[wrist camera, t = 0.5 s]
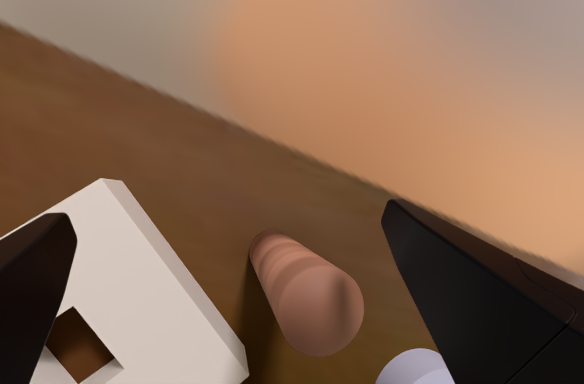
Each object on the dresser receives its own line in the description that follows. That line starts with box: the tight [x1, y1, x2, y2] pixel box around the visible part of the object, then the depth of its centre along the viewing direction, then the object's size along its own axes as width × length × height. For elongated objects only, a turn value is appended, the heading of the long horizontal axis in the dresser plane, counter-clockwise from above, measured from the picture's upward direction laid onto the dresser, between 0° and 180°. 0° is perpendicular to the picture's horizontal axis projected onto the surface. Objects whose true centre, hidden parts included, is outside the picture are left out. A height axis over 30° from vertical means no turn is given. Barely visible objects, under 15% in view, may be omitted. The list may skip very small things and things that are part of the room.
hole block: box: [0, 178, 249, 384], centre depth 20 cm, size 16×16×4 cm
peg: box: [249, 230, 364, 357], centre depth 19 cm, size 4×4×13 cm
